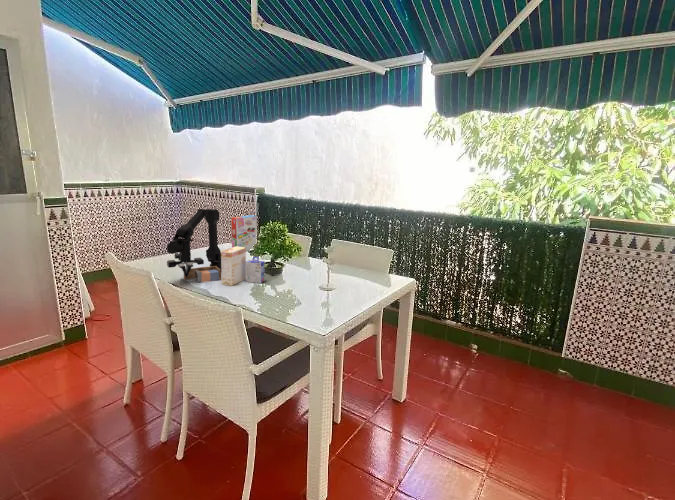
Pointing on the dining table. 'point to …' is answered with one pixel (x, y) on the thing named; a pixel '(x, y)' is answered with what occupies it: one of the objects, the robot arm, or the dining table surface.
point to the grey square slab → (198, 276)
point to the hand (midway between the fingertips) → (186, 277)
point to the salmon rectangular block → (205, 276)
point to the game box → (244, 231)
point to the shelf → (192, 271)
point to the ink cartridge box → (255, 271)
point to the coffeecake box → (233, 265)
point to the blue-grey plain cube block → (214, 275)
